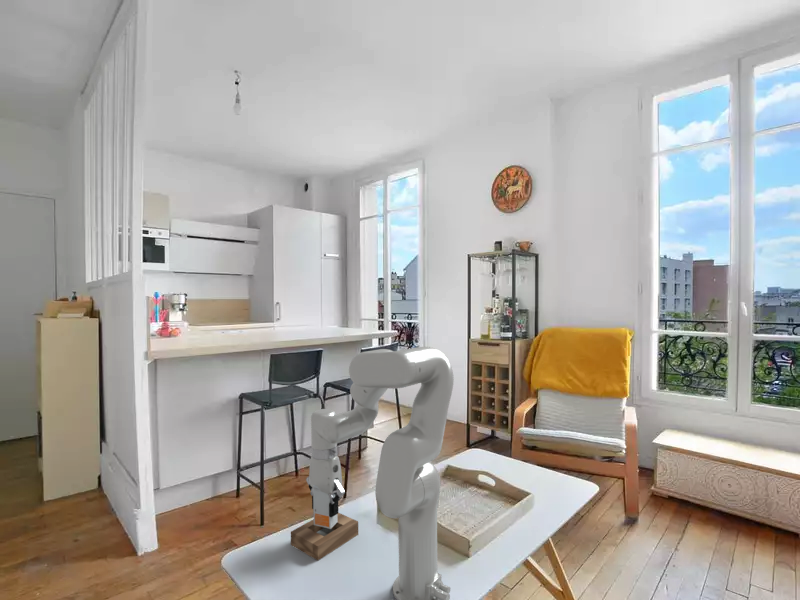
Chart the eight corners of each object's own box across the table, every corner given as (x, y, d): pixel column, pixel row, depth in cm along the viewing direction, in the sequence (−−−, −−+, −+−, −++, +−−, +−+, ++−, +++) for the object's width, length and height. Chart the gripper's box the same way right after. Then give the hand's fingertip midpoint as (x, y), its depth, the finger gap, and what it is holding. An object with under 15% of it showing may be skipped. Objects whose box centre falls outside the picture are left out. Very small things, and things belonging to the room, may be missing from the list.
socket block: (358, 534, 128) (358, 521, 128) (318, 560, 115) (317, 546, 115) (331, 521, 135) (331, 509, 135) (290, 545, 123) (290, 531, 123)
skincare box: (313, 525, 124) (312, 485, 124) (321, 519, 128) (320, 479, 128) (330, 529, 122) (329, 488, 122) (338, 522, 126) (337, 482, 126)
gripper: (354, 454, 123) (354, 515, 123) (314, 442, 133) (315, 498, 133) (335, 462, 117) (335, 526, 117) (295, 449, 127) (296, 507, 128)
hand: (325, 510), depth 125 cm, fingers closed on skincare box, 6 cm apart
